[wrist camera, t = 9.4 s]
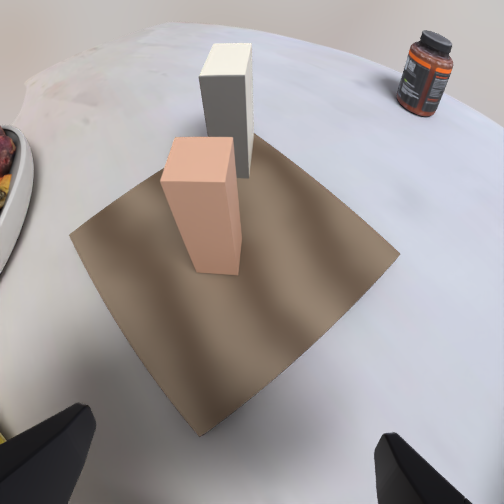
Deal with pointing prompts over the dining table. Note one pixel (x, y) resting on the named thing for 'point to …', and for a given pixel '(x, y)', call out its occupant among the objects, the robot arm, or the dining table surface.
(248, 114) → the white rectangular block
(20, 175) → the bowl
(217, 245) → the salmon pink tall block
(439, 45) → the supplement bottle
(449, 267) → the dining table surface
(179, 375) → the brown square mat
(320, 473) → the dining table surface
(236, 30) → the dining table surface
